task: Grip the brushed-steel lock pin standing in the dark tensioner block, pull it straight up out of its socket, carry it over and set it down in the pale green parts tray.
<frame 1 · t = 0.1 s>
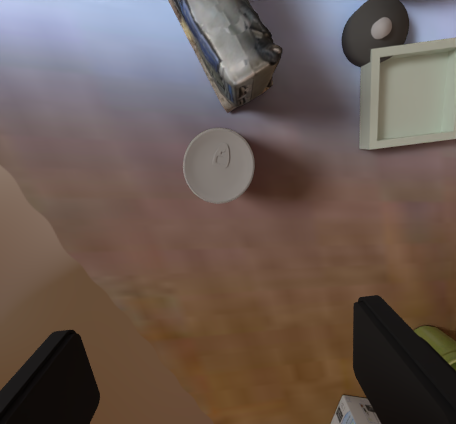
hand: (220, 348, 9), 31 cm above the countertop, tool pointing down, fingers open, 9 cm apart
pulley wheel: (368, 37, 34), on the countertop
canned food: (220, 158, 38), on the countertop
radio: (202, 25, 33), on the countertop
light bulb box: (349, 414, 52), on the countertop
parts tray: (404, 98, 36), on the countertop
plant pot: (422, 338, 47), on the countertop
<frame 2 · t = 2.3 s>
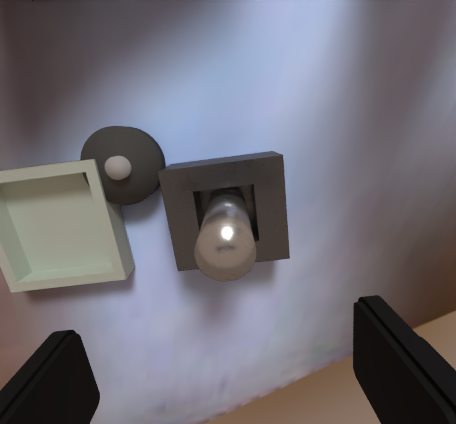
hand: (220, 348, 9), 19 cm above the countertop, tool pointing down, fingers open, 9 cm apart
lock pin: (227, 204, 26), point 1 cm above the countertop, touching tensioner block
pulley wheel: (129, 164, 26), on the countertop
tensioner block: (227, 202, 27), on the countertop
parts tray: (66, 221, 27), on the countertop
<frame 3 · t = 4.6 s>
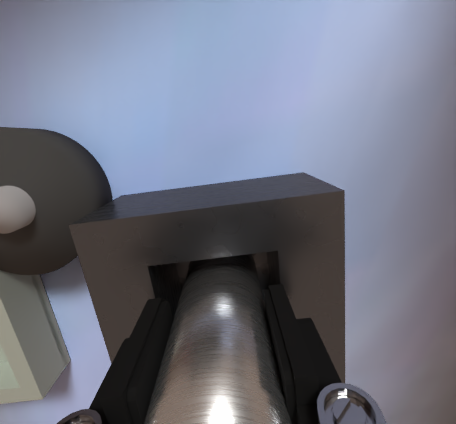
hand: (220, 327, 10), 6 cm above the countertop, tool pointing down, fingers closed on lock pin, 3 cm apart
lock pin: (222, 267, 14), point 1 cm above the countertop, touching gripper, tensioner block
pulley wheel: (47, 195, 14), on the countertop
tensioner block: (222, 259, 15), on the countertop
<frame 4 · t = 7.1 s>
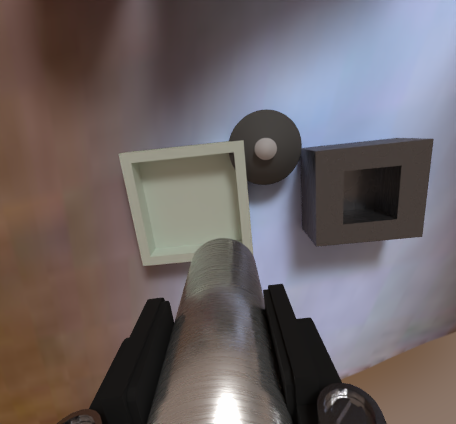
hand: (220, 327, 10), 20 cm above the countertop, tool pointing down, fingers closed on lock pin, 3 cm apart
lock pin: (223, 268, 14), point 15 cm above the countertop, touching gripper
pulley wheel: (261, 147, 27), on the countertop
tensioner block: (347, 185, 28), on the countertop
parts tray: (193, 201, 29), on the countertop
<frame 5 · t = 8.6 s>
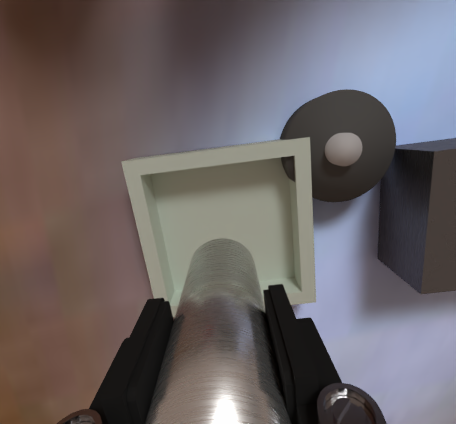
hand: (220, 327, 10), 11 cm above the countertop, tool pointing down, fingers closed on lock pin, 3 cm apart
lock pin: (222, 268, 14), point 7 cm above the countertop, touching gripper
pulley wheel: (326, 147, 19), on the countertop
tensioner block: (445, 198, 20), on the countertop
parts tray: (226, 224, 21), on the countertop
when the fingers open (8 cm above the countertop, at t = 9.8 s): lock pin drops 2 cm, resting on parts tray.
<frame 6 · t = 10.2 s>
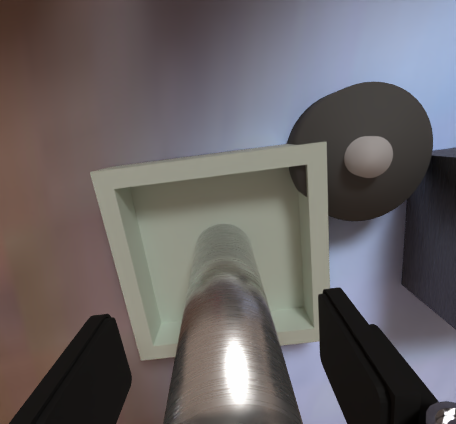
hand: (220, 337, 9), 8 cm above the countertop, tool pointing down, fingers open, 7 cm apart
lock pin: (223, 250, 17), point 1 cm above the countertop, touching parts tray
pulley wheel: (343, 153, 16), on the countertop
parts tray: (223, 245, 17), on the countertop
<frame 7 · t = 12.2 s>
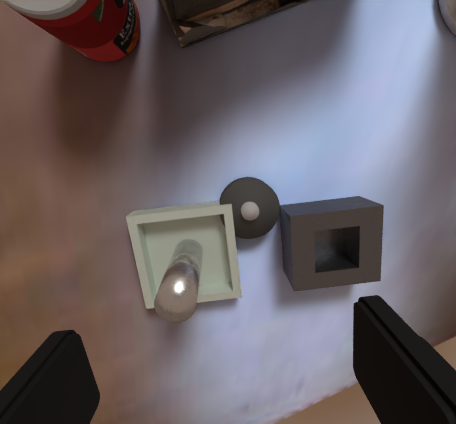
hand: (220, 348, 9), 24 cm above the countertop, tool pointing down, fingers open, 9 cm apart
lock pin: (188, 252, 33), point 1 cm above the countertop, touching parts tray
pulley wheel: (247, 205, 32), on the countertop
canned food: (104, 24, 27), on the countertop
tensioner block: (320, 234, 34), on the countertop
parts tray: (189, 250, 33), on the countertop
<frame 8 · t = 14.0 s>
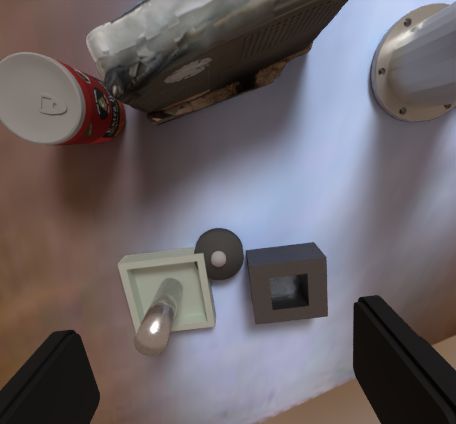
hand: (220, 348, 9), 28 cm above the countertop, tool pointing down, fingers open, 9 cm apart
lock pin: (171, 288, 40), point 1 cm above the countertop, touching parts tray
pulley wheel: (219, 250, 39), on the countertop
canned food: (96, 112, 33), on the countertop
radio: (224, 58, 32), on the countertop
tensioner block: (281, 273, 40), on the countertop
parts tray: (172, 286, 40), on the countertop
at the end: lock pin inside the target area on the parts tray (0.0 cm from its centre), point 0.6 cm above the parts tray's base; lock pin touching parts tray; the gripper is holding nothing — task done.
